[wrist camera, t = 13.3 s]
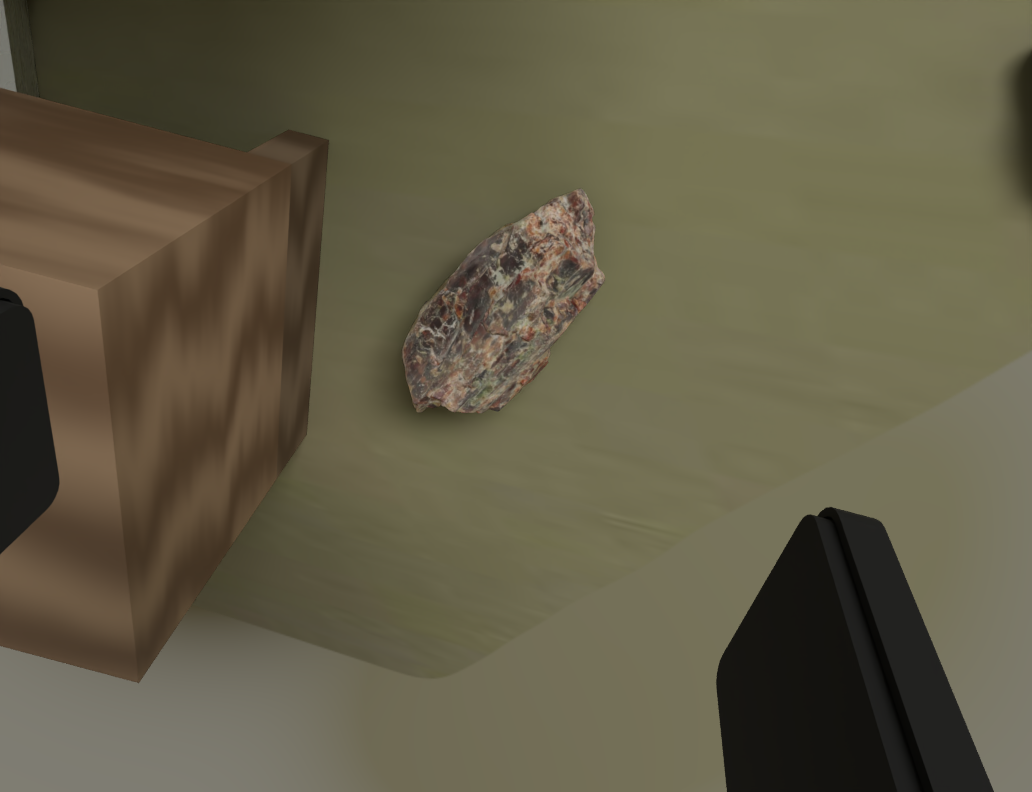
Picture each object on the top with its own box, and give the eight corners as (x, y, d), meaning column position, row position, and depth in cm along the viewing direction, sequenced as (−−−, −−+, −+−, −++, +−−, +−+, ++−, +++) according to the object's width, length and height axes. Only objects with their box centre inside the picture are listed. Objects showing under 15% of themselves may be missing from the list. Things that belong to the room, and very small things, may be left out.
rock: (374, 423, 37) (569, 464, 34) (355, 196, 31) (589, 227, 28) (429, 359, 43) (599, 390, 40) (422, 157, 37) (622, 180, 34)
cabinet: (48, 66, 36) (-388, 161, 21) (328, 140, 36) (97, 289, 20) (86, 375, 45) (-191, 594, 30) (306, 433, 45) (138, 682, 30)
